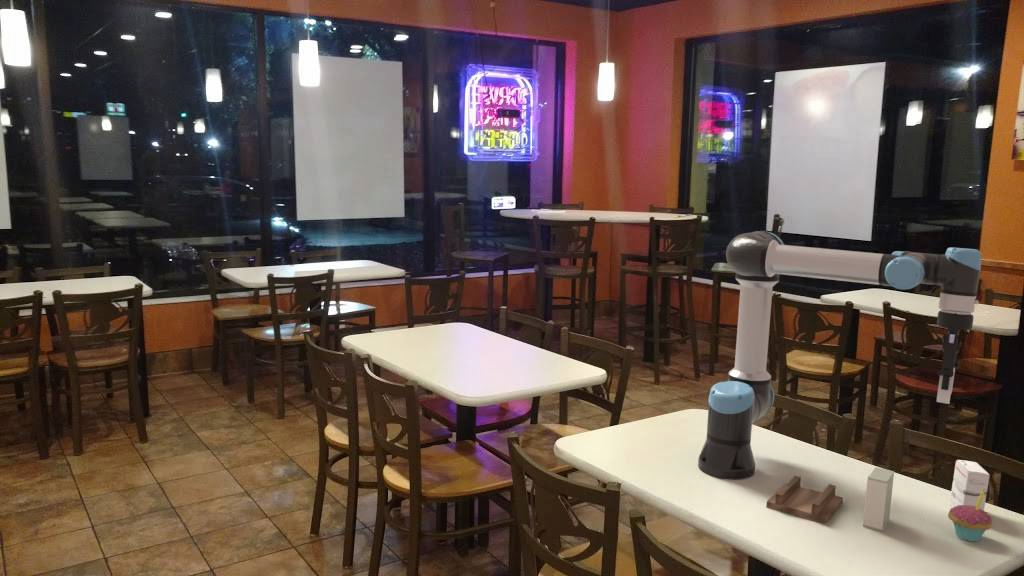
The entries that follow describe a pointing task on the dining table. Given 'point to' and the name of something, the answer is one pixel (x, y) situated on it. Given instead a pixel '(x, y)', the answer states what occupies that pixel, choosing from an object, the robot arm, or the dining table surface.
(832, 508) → the walnut rack
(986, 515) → the cupcake
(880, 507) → the sage box
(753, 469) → the robot arm
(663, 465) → the dining table surface
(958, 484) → the white rectangular block
